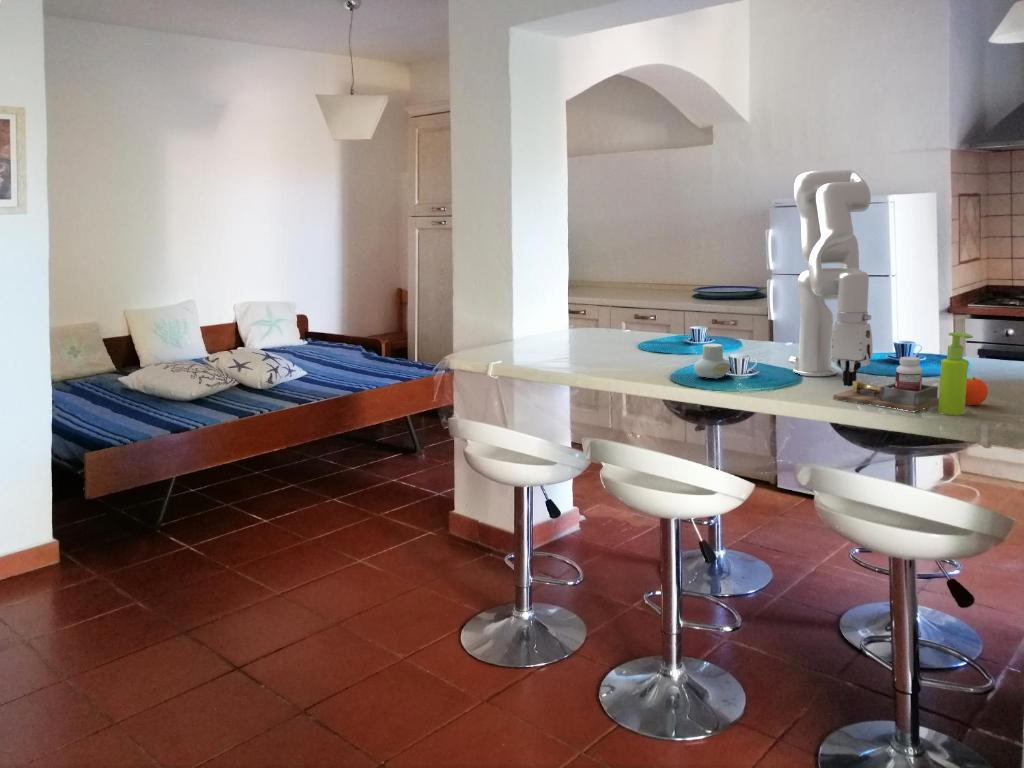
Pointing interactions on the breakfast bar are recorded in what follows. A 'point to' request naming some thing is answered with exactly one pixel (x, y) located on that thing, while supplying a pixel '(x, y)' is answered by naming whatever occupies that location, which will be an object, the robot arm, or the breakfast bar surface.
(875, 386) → the lock pin
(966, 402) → the clementine
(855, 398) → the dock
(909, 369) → the pill bottle
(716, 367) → the air freshener
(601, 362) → the breakfast bar surface
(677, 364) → the breakfast bar surface
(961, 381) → the soap dispenser
